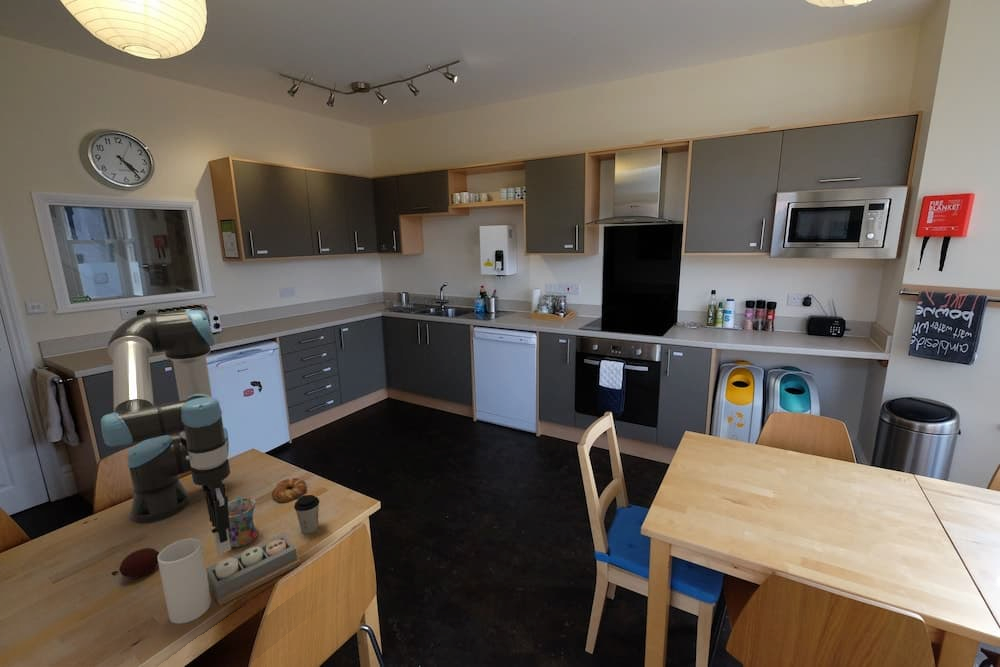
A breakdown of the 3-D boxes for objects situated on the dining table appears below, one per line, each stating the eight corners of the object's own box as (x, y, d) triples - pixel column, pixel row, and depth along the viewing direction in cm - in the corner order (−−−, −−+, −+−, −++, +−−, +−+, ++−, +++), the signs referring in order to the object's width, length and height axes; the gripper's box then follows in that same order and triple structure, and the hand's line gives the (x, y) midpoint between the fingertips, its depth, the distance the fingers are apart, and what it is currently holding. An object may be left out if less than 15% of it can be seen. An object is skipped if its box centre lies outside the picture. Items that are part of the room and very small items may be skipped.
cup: (183, 596, 108) (172, 539, 105) (218, 594, 109) (208, 536, 106) (161, 625, 100) (148, 563, 97) (199, 622, 101) (187, 561, 98)
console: (206, 580, 113) (203, 565, 113) (283, 543, 127) (281, 530, 126) (219, 606, 105) (217, 591, 104) (300, 564, 118) (298, 550, 118)
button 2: (240, 563, 115) (238, 552, 115) (259, 554, 119) (258, 543, 118) (246, 573, 112) (244, 561, 111) (266, 563, 115) (264, 552, 115)
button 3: (264, 556, 120) (262, 545, 119) (282, 547, 123) (281, 536, 122) (270, 564, 116) (269, 553, 116) (289, 555, 120) (288, 544, 119)
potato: (122, 570, 117) (118, 551, 116) (161, 557, 122) (157, 538, 121) (120, 587, 111) (116, 567, 110) (161, 572, 116) (157, 552, 115)
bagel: (297, 504, 146) (296, 494, 145) (264, 504, 147) (263, 494, 146) (312, 484, 158) (311, 475, 157) (282, 484, 158) (281, 475, 157)
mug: (256, 546, 126) (251, 513, 124) (219, 553, 123) (213, 519, 121) (264, 521, 137) (260, 490, 135) (230, 527, 134) (225, 496, 132)
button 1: (214, 575, 111) (212, 564, 111) (235, 565, 115) (234, 554, 114) (219, 585, 108) (217, 574, 107) (241, 575, 111) (239, 563, 111)
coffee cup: (327, 525, 135) (324, 496, 133) (309, 539, 128) (305, 508, 126) (310, 519, 138) (307, 490, 135) (291, 533, 131) (288, 502, 129)
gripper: (184, 459, 107) (199, 546, 111) (198, 478, 98) (213, 571, 103) (220, 449, 112) (233, 532, 117) (235, 466, 103) (249, 555, 108)
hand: (224, 550), depth 110 cm, fingers closed
